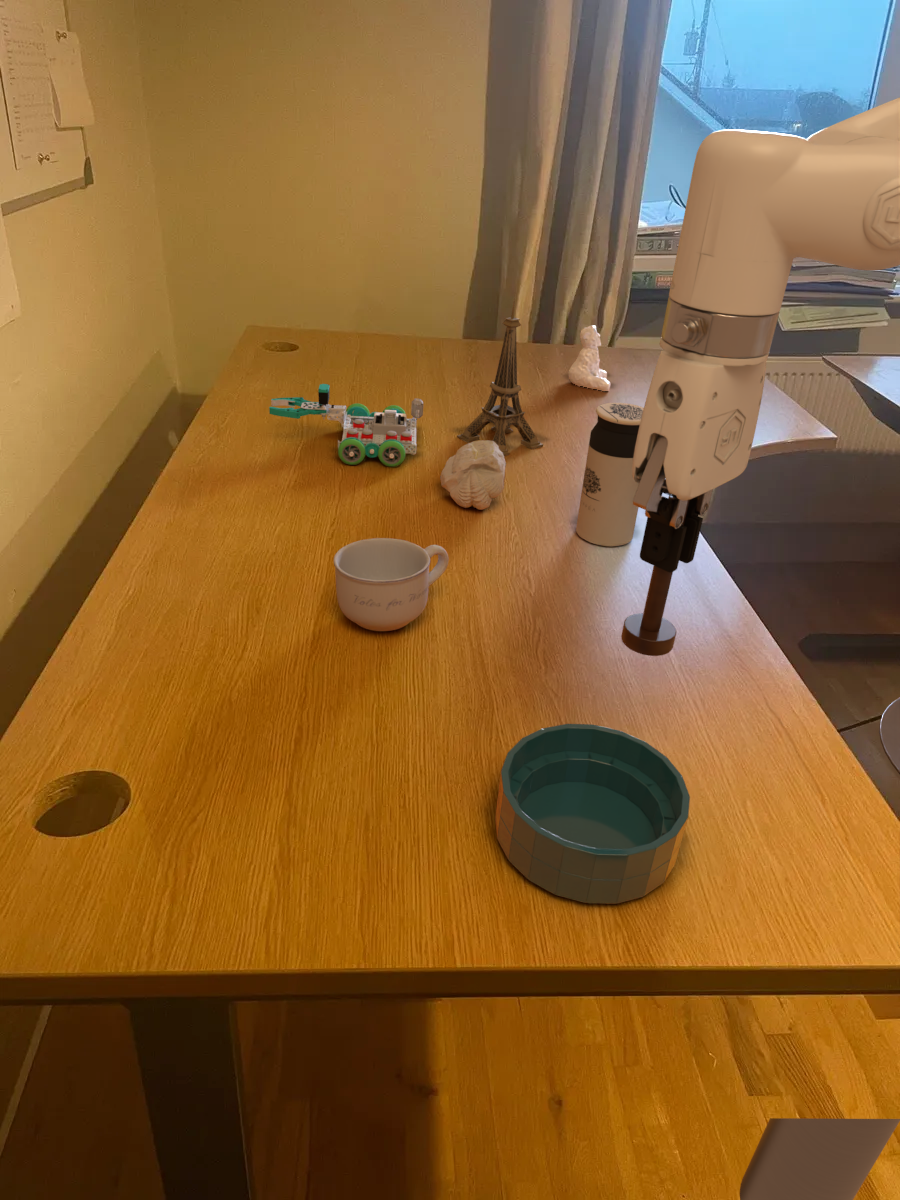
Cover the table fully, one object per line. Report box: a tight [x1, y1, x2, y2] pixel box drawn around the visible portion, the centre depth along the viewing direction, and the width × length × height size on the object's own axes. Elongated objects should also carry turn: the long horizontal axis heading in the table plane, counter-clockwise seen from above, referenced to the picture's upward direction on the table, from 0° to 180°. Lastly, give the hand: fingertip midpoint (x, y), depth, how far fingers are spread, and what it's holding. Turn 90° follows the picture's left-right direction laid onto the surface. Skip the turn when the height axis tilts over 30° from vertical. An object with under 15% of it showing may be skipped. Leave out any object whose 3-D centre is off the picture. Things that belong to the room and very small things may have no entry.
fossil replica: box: [439, 439, 507, 511], centre depth 130 cm, size 12×8×10 cm
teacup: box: [333, 537, 449, 632], centre depth 101 cm, size 14×11×8 cm
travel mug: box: [575, 402, 644, 547], centre depth 120 cm, size 8×8×18 cm
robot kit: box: [268, 383, 424, 468], centre depth 145 cm, size 19×25×9 cm
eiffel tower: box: [456, 293, 544, 457], centre depth 147 cm, size 11×11×25 cm
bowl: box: [494, 723, 691, 905], centre depth 74 cm, size 15×15×6 cm
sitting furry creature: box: [567, 324, 612, 392], centre depth 181 cm, size 10×9×12 cm
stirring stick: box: [620, 495, 689, 657], centre depth 72 cm, size 4×4×14 cm
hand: (666, 559), depth 72 cm, fingers closed on stirring stick
